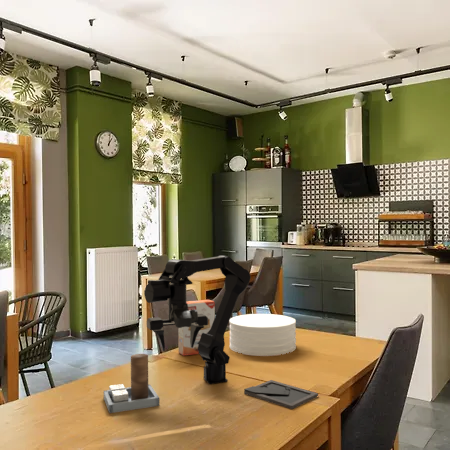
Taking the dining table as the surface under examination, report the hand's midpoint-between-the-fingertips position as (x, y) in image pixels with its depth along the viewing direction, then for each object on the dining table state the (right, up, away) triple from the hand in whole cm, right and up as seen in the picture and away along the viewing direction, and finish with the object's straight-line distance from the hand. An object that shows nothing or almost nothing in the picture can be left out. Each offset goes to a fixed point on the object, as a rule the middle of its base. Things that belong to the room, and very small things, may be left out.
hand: (177, 348), depth 148 cm
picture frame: (+32, -14, -5) cm, 35 cm away
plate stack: (+31, -13, +52) cm, 61 cm away
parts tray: (-13, -13, -11) cm, 21 cm away
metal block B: (-15, -12, -15) cm, 25 cm away
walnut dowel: (-10, -12, -11) cm, 19 cm away
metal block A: (-17, -12, -10) cm, 23 cm away
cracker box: (+3, -13, +43) cm, 45 cm away
